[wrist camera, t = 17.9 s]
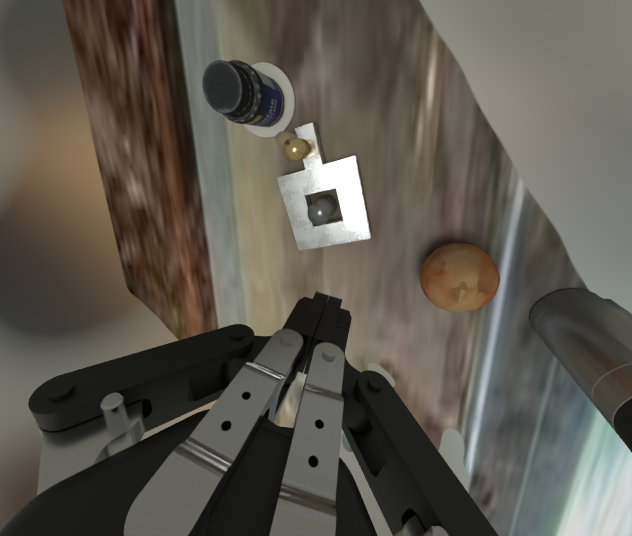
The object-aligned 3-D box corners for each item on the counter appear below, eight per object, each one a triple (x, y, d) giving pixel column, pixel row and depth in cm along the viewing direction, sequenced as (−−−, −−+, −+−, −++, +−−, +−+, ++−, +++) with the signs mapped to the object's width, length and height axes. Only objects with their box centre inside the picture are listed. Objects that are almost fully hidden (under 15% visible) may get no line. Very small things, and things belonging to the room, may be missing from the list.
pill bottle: (269, 137, 38) (229, 134, 29) (238, 105, 38) (186, 92, 28) (294, 99, 35) (259, 83, 26) (261, 64, 35) (212, 34, 25)
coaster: (291, 57, 34) (289, 56, 33) (298, 134, 38) (297, 133, 37) (231, 69, 36) (228, 68, 36) (244, 140, 40) (242, 140, 40)
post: (336, 194, 40) (328, 201, 35) (337, 214, 41) (330, 224, 36) (316, 195, 41) (306, 202, 36) (318, 215, 42) (308, 225, 37)
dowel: (301, 132, 38) (287, 130, 32) (303, 146, 38) (289, 146, 33) (290, 134, 38) (274, 132, 33) (291, 147, 39) (276, 147, 33)
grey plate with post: (371, 234, 41) (367, 256, 33) (302, 246, 45) (283, 269, 37) (348, 112, 35) (336, 102, 27) (270, 138, 39) (239, 137, 31)
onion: (437, 301, 43) (450, 340, 35) (404, 256, 42) (408, 286, 33) (497, 272, 39) (529, 309, 30) (463, 221, 37) (487, 244, 29)
